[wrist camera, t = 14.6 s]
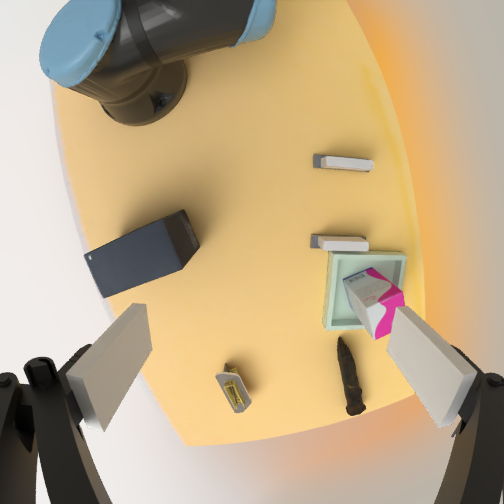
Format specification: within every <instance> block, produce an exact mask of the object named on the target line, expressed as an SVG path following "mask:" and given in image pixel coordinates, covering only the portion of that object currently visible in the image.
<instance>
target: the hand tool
mask: <svg viewBox="0 0 504 504" xmlns="http://www.w3.org/2000/svg"><path fill="white" fill-rule="evenodd" d="M337 353H338V362H339V365H340V370H341V375H342V380H343V384H344V391H345V396H346V399H347V407H346V410H347V413H348V414H349V415H350V416H354V415H358V414H361V413H362V412H363V411H364V410H365V409H366V406H365V405H364V404H363V402H362V398H361V394H362V389H361V388H360V387H359V383H358V379H357V375H356V367H355V363H354V359H353V357H352V354H351V352H350V350H349V348H348V347H347V345H346V344H345V343H344V341H343V340H342V338H341V337H339V338H338V345H337Z"/></svg>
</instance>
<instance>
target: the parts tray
mask: <svg viewBox="0 0 504 504" xmlns="http://www.w3.org/2000/svg"><path fill="white" fill-rule="evenodd" d="M405 264H406V255H405V254H403V253H401V252H399V251H329V258H328V270H327V281H326V292H325V302H324V311H323V319H322V323H323V326H324V328H325V330H326V331H328V330H353V329H366V328H365V327H364V325H363V324H362V323H361V321H360V320H359V319H358V317H357V316H356V314H355V313H354V312H353V310H352V309H351V308H350V305H349V301H348V297H347V294H346V290H345V287H344V283H343V280H342V279H344V278H347V277H349V276H352V275H354V274H356V273H359V272H361V271H363V270H366V269H368V268H371V267H372V268H374V269H375V270H376V271H378V272H379V273H380V274H381V275H383V276H384V277H385V278H386V279H388V280H389V281H390V282H391V283H393V284H394V285H395V286H396V287H398V288H399V289H400V290H402V284H403V278H404V271H405Z"/></svg>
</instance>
